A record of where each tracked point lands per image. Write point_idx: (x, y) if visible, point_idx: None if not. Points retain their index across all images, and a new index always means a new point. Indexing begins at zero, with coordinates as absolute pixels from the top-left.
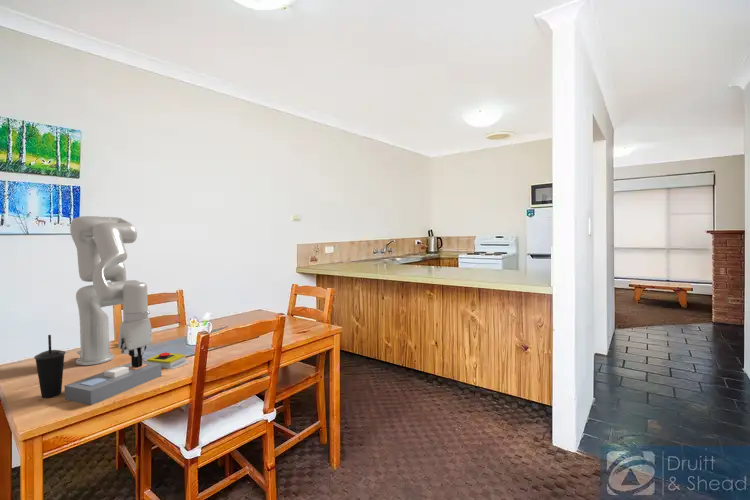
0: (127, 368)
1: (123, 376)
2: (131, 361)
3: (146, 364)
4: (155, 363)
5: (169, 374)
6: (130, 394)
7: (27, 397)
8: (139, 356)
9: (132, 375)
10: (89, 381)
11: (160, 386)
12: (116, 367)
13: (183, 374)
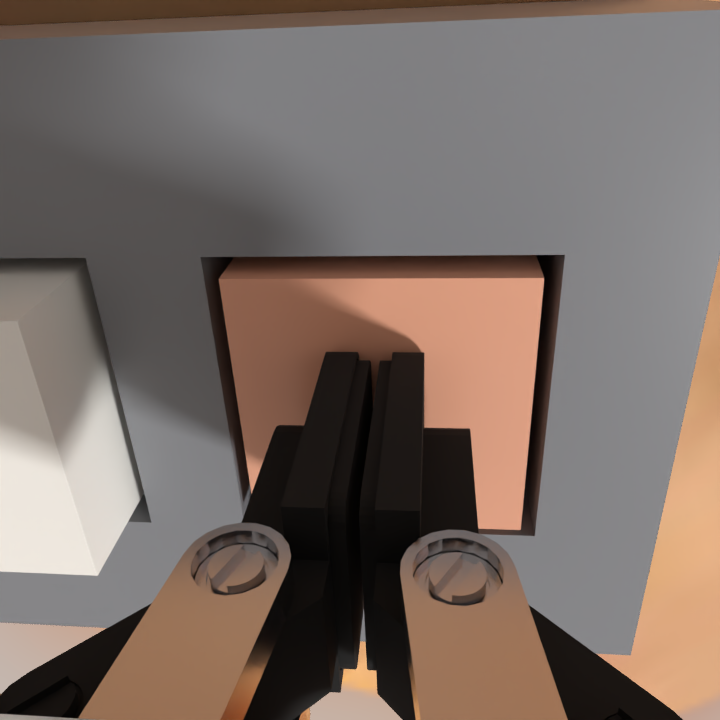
0: (78, 568)
1: (2, 574)
2: (264, 461)
3: (516, 504)
4: (629, 572)
5: (657, 557)
6: None
7: None
8: (370, 654)
9: (110, 622)
10: None
11: None
12: None
13: (689, 678)
